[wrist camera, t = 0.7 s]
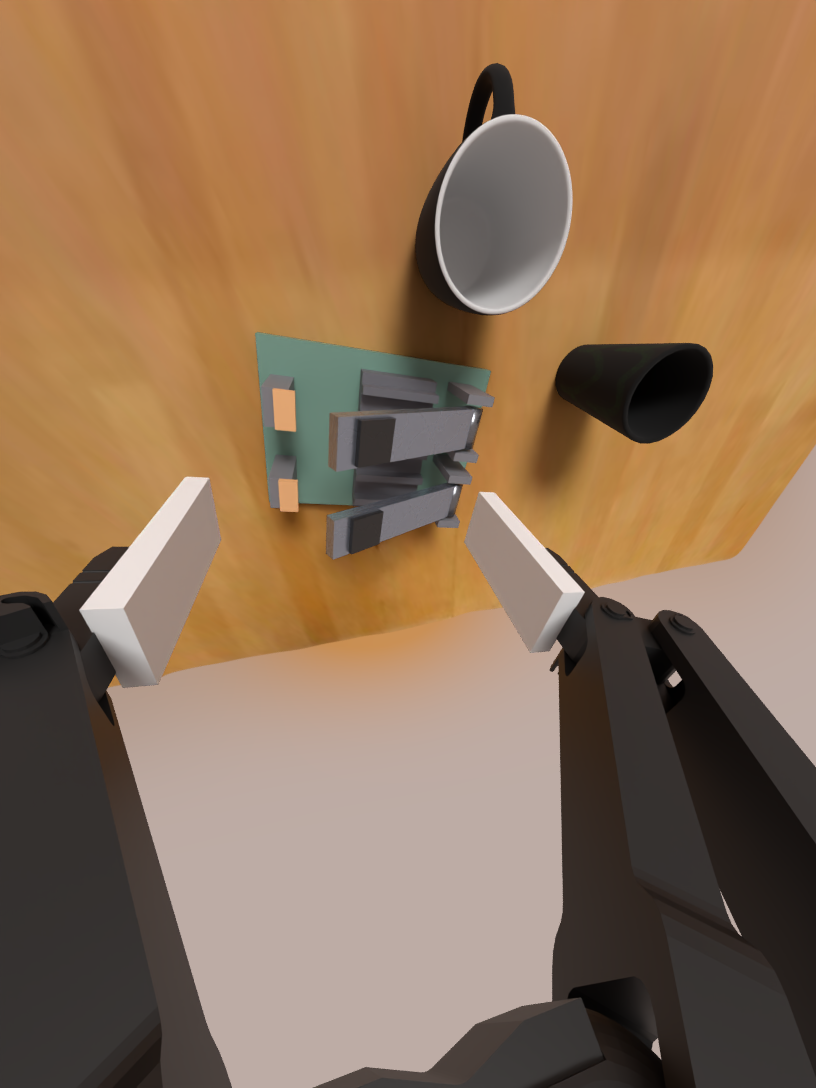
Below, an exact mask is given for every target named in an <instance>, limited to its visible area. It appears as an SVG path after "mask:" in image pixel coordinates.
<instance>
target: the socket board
mask: <svg viewBox="0 0 816 1088" xmlns="http://www.w3.org/2000/svg"><path fill="white" fill-rule="evenodd" d="M255 336H256V348H257V360H258V372H259V384H260V396H261V408H262V420H263V432H264V444H265V456H266V468H267V480H268V492H269V502H270V506H271V508H280V511H286V512H298V510H299V503H309V504H332V505H353V506H363V505H366V504H370V503H374V502H377V501H381V500H385V499H389V498H392V497H396V496H400V495H403V494H407V493H411V492H414V491H418V490H422V489H425V488H429V487H433V486H436V485H440V484H444V483H447V482H448V483H455V484H471V480H472V476H471V475H470V474H469V473H468V472H467V470H466V469H465V467H466V463H467V462H471V463H476V462H477V459H478V454H477V453H476V452H475V451H474V450H473V449H461V450H455V451H450V452H444V453H438V454H433V455H427V456H422V457H416V458H411V459H405V460H400V461H394V462H389V463H383V464H378V465H372V466H367V467H361V468H355V469H350V470H344V471H339V472H336V471H334V470H333V469H331V468H330V467H328V452H329V413H333V412H355V411H376V410H398V409H420V408H441V407H463V406H466V405H471V406H477V407H480V408H481V407H482V406H486V407H492V406H493V402H494V399H495V398H494V397H492V396H491V395H489V394H487V393H485V392H486V388H487V384H488V381H489V377H490V373H491V371H490V370H487V369H482V368H476V367H470V366H463V365H457V364H451V363H445V362H439V361H433V360H426V359H420V358H414V357H408V356H402V355H396V354H389V353H383V352H377V351H371V350H365V349H359V348H352V347H346V346H340V345H334V344H328V343H322V342H315V341H309V340H303V339H297V338H291V337H285V336H278V335H272V334H266V333H260V332H257V333H255ZM435 523H436V525H437V527H447V528H458V526H459V523H460V521H459V520H458V518H457V516H456V515H455V516H453V517H445V518H443V519H440V520H437V521H435Z"/></svg>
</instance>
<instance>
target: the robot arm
mask: <svg viewBox="0 0 816 1088" xmlns="http://www.w3.org/2000/svg"><path fill="white" fill-rule="evenodd" d="M220 541H221V536H220V531H219V526H218V521H217V515H216V510H215V505H214V500H213V495H212V490H211V484H210V479H209V478H200V477H185V478H184V480H183V481H182V482H181V483H180V485H179V486H178V487H177V488H176V490H175V491H174V492H173V493H172V495H171V496H170V497H169V498H168V500H167V501H166V502H165V503H164V505H163V506H162V507H161V508H160V510H159V511H158V512H157V513H156V515H155V516H154V517H153V518H152V520H151V521H150V522H149V523H148V525H147V526H146V527H145V528H144V530H143V531H142V532H141V533H140V535H139V536H138V537H137V538H136V540H135V541H134V542H133V543H132V545H131V546H130V547H111V548H109V549H108V550H106V551H104V552H103V553H101V554H99V555H98V556H96V557H94V558H93V559H92V560H91V561H90V563H89V564H88V565H87V566H86V567H85V568H84V569H83V570H82V571H83V572H82V573H80V574H79V575H78V576H77V577H76V578H75V579H74V580H73V584H70V585H69V586H68V587H67V588H66V589H65V590H64V591H63V592H62V593H61V595H60V596H59V597H58V598H57V599H56V600H55V601H54V602H52V601H51V600H50V598H49V597H48V596H47V595H46V594H42V593H39V592H17V593H11V594H6V595H1V596H0V1088H232V1086H231V1083H230V1080H229V1077H228V1074H227V1071H226V1068H225V1065H224V1063H223V1060H222V1057H221V1055H220V1052H219V1050H218V1048H217V1046H216V1044H215V1042H214V1040H213V1038H212V1036H211V1034H210V1031H209V1029H208V1026H207V1023H206V1020H205V1017H204V1014H203V1010H202V1007H201V1003H200V1000H199V996H198V993H197V990H196V986H195V983H194V979H193V976H192V973H191V969H190V966H189V962H188V959H187V956H186V952H185V949H184V945H183V942H182V938H181V935H180V932H179V928H178V925H177V921H176V918H175V915H174V911H173V908H172V905H171V901H170V898H169V894H168V891H167V887H166V884H165V881H164V877H163V874H162V870H161V867H160V864H159V860H158V857H157V853H156V850H155V846H154V843H153V840H152V836H151V833H150V830H149V826H148V822H147V819H146V816H145V812H144V809H143V805H142V802H141V799H140V795H139V792H138V788H137V785H136V782H135V778H134V775H133V771H132V768H131V764H130V761H129V758H128V754H127V751H126V748H125V744H124V741H123V737H122V734H121V730H120V727H119V724H118V720H117V717H116V713H115V710H114V707H113V703H112V700H111V697H110V696H109V694H108V692H107V691H106V690H107V688H108V686H109V684H110V683H111V681H112V679H113V677H114V675H116V677H117V678H118V680H119V682H120V684H121V685H122V687H123V688H126V687H138V686H150V685H158V684H159V682H160V679H161V677H162V675H163V672H164V670H165V668H166V666H167V663H168V661H169V659H170V656H171V654H172V652H173V649H174V647H175V645H176V643H177V640H178V638H179V636H180V633H181V631H182V629H183V626H184V624H185V622H186V620H187V617H188V615H189V613H190V610H191V608H192V606H193V603H194V601H195V599H196V596H197V594H198V592H199V590H200V587H201V585H202V583H203V580H204V578H205V576H206V573H207V571H208V569H209V567H210V564H211V562H212V560H213V557H214V555H215V553H216V550H217V548H218V546H219V544H220ZM464 542H465V544H466V546H467V547H468V549H469V551H470V552H471V554H472V556H473V558H474V559H475V561H476V563H477V564H478V566H479V568H480V569H481V571H482V573H483V574H484V576H485V578H486V579H487V581H488V583H489V584H490V586H491V588H492V590H493V591H494V593H495V595H496V596H497V598H498V600H499V601H500V603H501V605H502V606H503V608H504V610H505V611H506V613H507V615H508V616H509V618H510V620H511V622H512V623H513V625H514V626H515V628H516V630H517V632H518V633H519V635H520V637H521V638H522V640H523V642H524V643H525V645H526V647H527V648H528V650H529V652H530V653H534V652H545V651H550V649H551V648H552V646H553V644H554V643H555V641H556V639H557V640H558V641H559V643H560V644H561V645H562V647H563V648H562V650H561V651H560V653H559V654H558V656H557V657H556V659H555V661H554V662H553V664H552V665H551V668H550V671H552V672H553V671H554V670H555V668H556V667H557V666H559V672H558V674H559V712H560V764H561V765H560V767H561V817H562V819H561V820H562V873H563V913H562V919H561V923H560V926H559V929H558V932H557V934H556V938H555V944H554V950H553V965H552V1002H546V1003H540V1004H533V1005H526V1006H521V1007H519V1008H516V1009H514V1010H511V1011H508V1012H506V1013H503V1014H501V1015H498V1016H496V1017H493V1018H490V1019H488V1020H485V1021H483V1022H481V1023H478V1024H475V1026H473V1027H472V1028H471V1030H469V1032H467V1034H465V1035H464V1037H462V1038H461V1039H460V1041H458V1042H457V1043H456V1044H455V1045H454V1047H452V1048H451V1050H449V1051H448V1052H447V1053H446V1054H445V1056H443V1057H442V1058H441V1059H440V1061H438V1062H437V1063H436V1064H435V1065H434V1067H433V1068H431V1069H430V1070H429V1071H427V1072H422V1073H420V1072H410V1071H400V1070H389V1069H379V1068H369V1067H365V1068H362V1069H360V1070H357V1071H355V1072H352V1073H349V1074H347V1075H344V1076H342V1077H339V1078H337V1079H334V1080H332V1081H329V1082H326V1083H324V1084H321V1085H319V1086H316V1087H314V1088H816V767H815V766H814V765H813V763H812V762H811V761H810V760H809V759H808V757H807V756H806V755H805V754H804V753H803V751H802V750H801V749H800V748H799V746H798V745H797V744H796V743H795V741H794V740H793V739H792V738H791V737H790V736H789V734H788V733H787V732H786V730H784V728H783V727H782V726H781V724H780V723H779V722H778V721H777V720H776V718H775V717H774V716H773V715H772V714H771V712H770V711H769V710H768V709H767V707H766V706H765V705H764V704H763V702H762V701H761V700H760V699H759V698H758V696H757V695H756V694H755V693H754V692H753V690H752V689H751V688H750V687H749V685H748V684H747V683H746V682H745V681H744V679H743V678H742V677H741V676H740V674H739V673H738V672H737V671H736V670H735V668H734V667H733V666H732V665H731V663H730V662H729V661H728V660H727V659H726V657H725V656H724V655H723V654H722V652H721V651H720V650H719V649H718V648H717V646H716V645H715V644H714V643H713V641H712V640H711V639H710V638H709V637H708V635H707V634H706V633H705V632H704V631H703V629H702V628H701V627H699V626H698V625H697V624H696V623H695V622H694V621H692V620H691V619H690V618H688V617H687V616H685V615H683V614H680V613H677V612H673V611H670V610H662V611H660V612H659V613H658V614H657V615H656V616H655V618H654V619H653V620H648V619H643V618H638V617H635V616H634V614H633V613H632V612H631V611H630V610H629V609H628V608H627V607H625V606H624V605H622V604H621V603H619V602H617V601H615V600H612V599H609V598H605V597H598V596H597V595H596V594H595V593H594V592H593V591H592V590H591V589H590V588H589V587H588V586H587V584H586V583H585V582H584V581H583V580H582V579H581V578H580V577H579V576H578V575H577V574H576V573H574V571H573V570H572V569H571V567H570V566H568V564H567V563H566V562H565V561H564V560H563V559H562V558H561V557H560V556H559V555H558V554H556V553H555V552H553V551H552V550H550V549H549V548H544V547H543V546H542V544H541V543H540V542H539V541H538V540H537V539H536V538H535V537H534V536H533V535H532V533H531V532H530V531H529V530H528V529H527V528H526V527H525V526H524V525H523V524H522V522H521V521H520V520H519V519H518V518H517V517H516V516H515V515H514V514H513V513H512V511H511V510H510V509H509V508H508V507H507V506H506V505H505V504H504V503H503V502H502V500H501V499H500V498H499V497H498V496H497V495H496V494H495V493H491V492H479V494H478V497H477V501H476V504H475V507H474V511H473V514H472V518H471V521H470V524H469V528H468V531H467V534H466V538H465V541H464ZM675 671H677V672H678V674H679V675H680V677H681V678H682V681H681V682H679V684H677V685H676V686H675V687H672V685H671V684H670V683H669V681H668V678H669V677H670V676H671V675H672V674H673V673H674V672H675ZM720 891H721V892H722V895H723V897H724V899H725V901H726V903H727V906H728V908H729V910H730V912H731V914H732V916H733V918H734V920H735V923H736V925H737V927H738V929H739V931H740V933H741V935H742V936H740V935H739V934H738V933H737V931H736V930H735V928H734V927H733V925H732V924H731V922H730V919H729V917H728V914H727V912H726V909H725V906H724V902H723V899H722V896H721V893H720ZM657 1038H658V1040H659V1047H660V1053H661V1059H660V1058H659V1057H658V1056H657V1055H656V1054H655V1053H654V1052H653V1051H652V1050H651V1049H652V1044H653V1042H654V1041H655V1040H656V1039H657Z"/></svg>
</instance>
